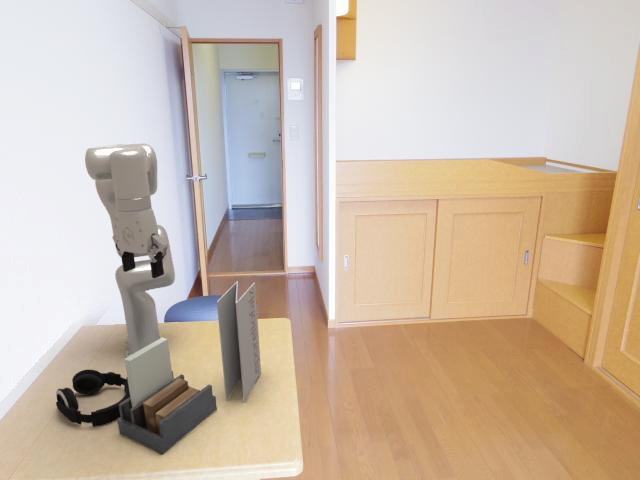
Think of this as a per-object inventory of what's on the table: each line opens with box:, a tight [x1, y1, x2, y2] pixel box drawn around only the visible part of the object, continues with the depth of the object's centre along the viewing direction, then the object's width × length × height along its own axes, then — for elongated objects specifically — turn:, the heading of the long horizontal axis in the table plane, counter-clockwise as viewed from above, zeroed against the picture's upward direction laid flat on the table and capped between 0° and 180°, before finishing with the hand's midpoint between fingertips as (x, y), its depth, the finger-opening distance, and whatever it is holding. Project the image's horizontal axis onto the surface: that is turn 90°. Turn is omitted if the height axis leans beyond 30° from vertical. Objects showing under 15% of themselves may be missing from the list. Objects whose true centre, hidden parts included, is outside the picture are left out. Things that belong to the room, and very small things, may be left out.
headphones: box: [55, 369, 130, 427], centre depth 127 cm, size 18×8×20 cm
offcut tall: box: [143, 378, 189, 436], centre depth 120 cm, size 3×12×9 cm, turn 151°
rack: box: [116, 370, 218, 455], centre depth 120 cm, size 15×19×8 cm
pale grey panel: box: [123, 337, 174, 408], centre depth 121 cm, size 2×12×20 cm, turn 151°
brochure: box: [216, 280, 262, 404], centre depth 131 cm, size 14×6×30 cm, turn 168°
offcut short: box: [155, 386, 201, 436], centre depth 118 cm, size 3×12×8 cm, turn 151°
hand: (143, 273), depth 112 cm, fingers open, 9 cm apart
